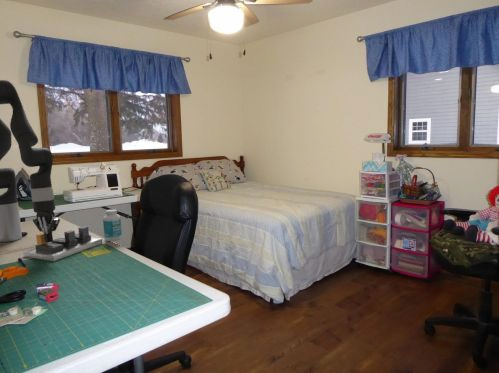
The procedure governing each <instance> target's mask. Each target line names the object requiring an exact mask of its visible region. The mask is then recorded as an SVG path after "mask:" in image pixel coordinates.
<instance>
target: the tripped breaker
mask: <svg viewBox="0 0 499 373" xmlns="http://www.w3.org/2000/svg"><path fill="white" fill-rule="evenodd" d="M35 236H36V237H35V238H36V245H43V244H46V243H48V242H45V238H44V233H43V232H40V233H38V234H35Z"/></svg>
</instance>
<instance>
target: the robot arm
mask: <svg viewBox="0 0 499 373" xmlns="http://www.w3.org/2000/svg"><path fill="white" fill-rule="evenodd" d="M0 105H10V107H11V108H12V114H11V119H10V122H9V126H8V125H7V124H6V123H5V122H4V121H3V120H2V119H1V118H0V161H2V159H3V158H4V157H6V155H7V154H8V152H9V151H10V150H11V148H12V136H13V137H14V138H15V141H16V143H17V145H18V150H19V154H20V159H21V162H22V163H23V164H24V165H25V166H26V167H29V168H34V167H39V168H38V171H36V172H33V173H31V174H30V175H29V183H30V189H31V191H30V192H31V195H30V196H31V203H32V209H33V212H34V213H36V216H35V218H33V219H32V222H33V224H34V225H35V226H36V228H37V230H38V231H39V232H40V233H44V238H45V242H48V243H51V242H52V241H53V240H54V238H53V237H54V236H53V232H56V230H57V229H58V226H59V224H60V222H61V219H60V218H56V215H55V212H54V211H55V210H56V203H55V195H54V194H55V193H54V189H53V186H52V178H51V175H52V170H53V163H54V162H53V161H54V156H53V153H52V151H51V150H50V149H49V148H47V147H35V146H36V145H37V144H39V138H38V136H37V135H36V133H35V131H34V129H33V127H32V126H31V123H30V121H29V120H28V118H27V114H26V111H25V109H24V106H23V104H22V100H21V98H20V96H19V93H18V91H17V89H16V86H15V85H14V84H13V82H11V81H10V80H7V79H5V80H4V79H3V80H2V79H0ZM9 127H10V128H9ZM16 178H17V176H16V171H15V170H14V168H11V167H5V168H3V167H2V168H0V190H1V189H6V191H5V192H4V193H2V194H0V242H1V243H5V242H13V241H18V240H21V239H22V238H23V234H22V233H23V232H22V227H21V225H22V224H21V216H20V210H19V209H20V208H19V201H18V193H17V192H18V191H17V179H16Z"/></svg>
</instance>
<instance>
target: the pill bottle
mask: <svg viewBox="0 0 499 373" xmlns="http://www.w3.org/2000/svg"><path fill="white" fill-rule="evenodd" d="M121 219H122V218H121V216H120V214H118V210H117V209H107V210H105V215H104V216H103V218H102V223H103V224H102V225H103V235H104V236H103V237H104V240H105V241H106V242H116V241H117V242H118V241H120V240H121V239H122V237H123V235H122V234H123V231H122V220H121Z"/></svg>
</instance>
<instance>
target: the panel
mask: <svg viewBox="0 0 499 373" xmlns="http://www.w3.org/2000/svg"><path fill="white" fill-rule="evenodd" d="M63 235H64V237H58V238H55V239H53V241H52V242H49V243H46V244H43V245H39V244H36V245H35V247H32V248H30V249H27V250H23V257H24V258H31V259H38V260H44V261H50V262H56V261H59V260H61V259H64V258H66V257H70V256H73V255H74V254H75V255H76V254H78V253H81V252H83V251H85V250H88V249H90V248H94V247H96V246H99V245H101V243H102V244H103V243H104V242H103V238H98V237H93V236H92V235H91V234H89V226H81V227H78V233H76V231H75V230H67V231H64V234H63Z"/></svg>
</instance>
